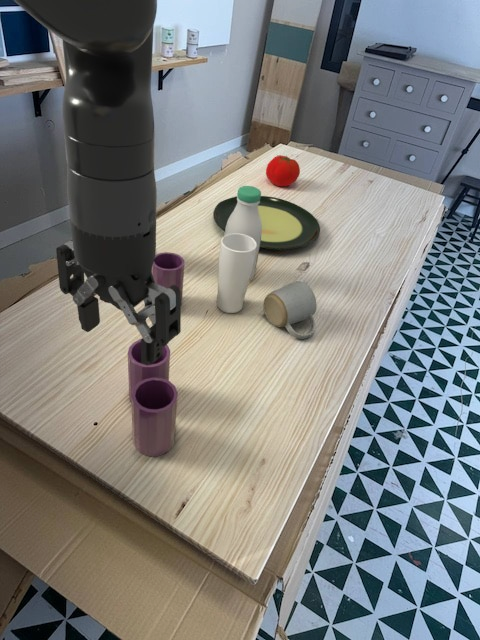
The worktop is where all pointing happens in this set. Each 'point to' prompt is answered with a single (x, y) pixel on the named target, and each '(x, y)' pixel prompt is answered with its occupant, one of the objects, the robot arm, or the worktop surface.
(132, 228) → the robot arm
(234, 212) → the milk bottle
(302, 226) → the plate
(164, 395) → the front cup
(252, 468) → the worktop surface
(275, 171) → the tomato
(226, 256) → the drinking glass
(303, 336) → the ceramic mug
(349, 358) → the worktop surface
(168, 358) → the pair cup
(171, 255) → the far cup
